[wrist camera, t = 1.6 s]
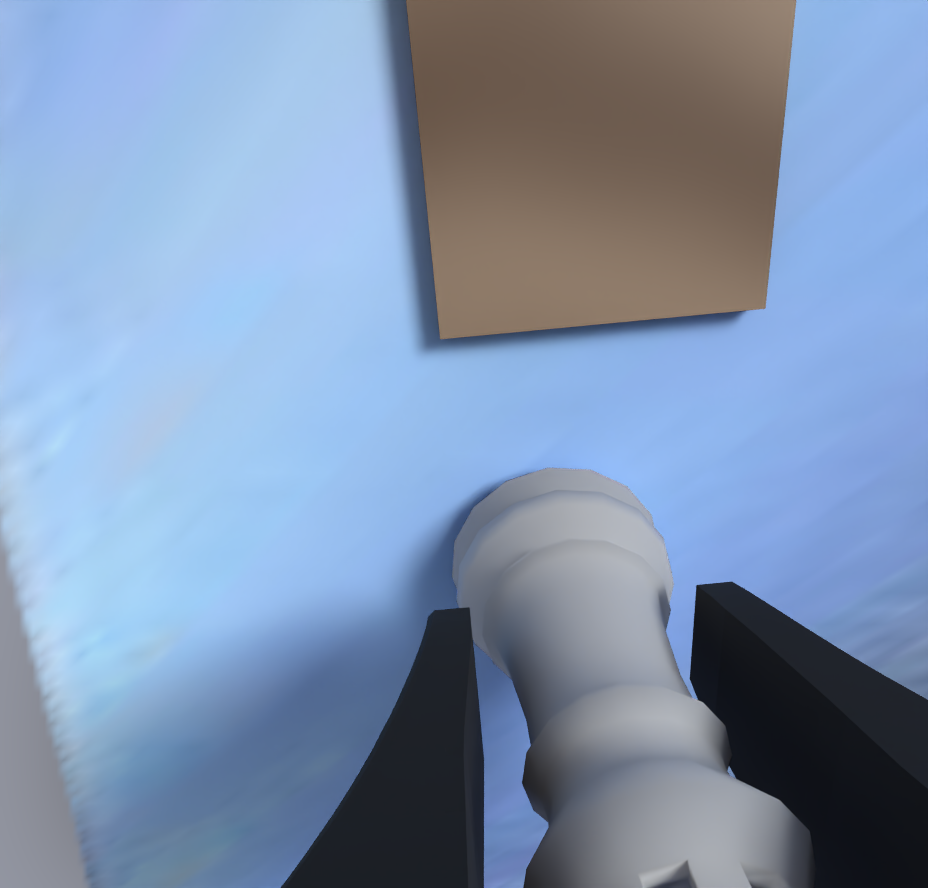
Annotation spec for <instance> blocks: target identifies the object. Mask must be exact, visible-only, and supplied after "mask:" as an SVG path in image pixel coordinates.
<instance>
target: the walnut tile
mask: <svg viewBox="0 0 928 888" xmlns="http://www.w3.org/2000/svg"><path fill="white" fill-rule="evenodd" d="M406 5H407V14H408V24H409V34H410V44H411V54H412V64H413V74H414V84H415V94H416V104H417V114H418V124H419V134H420V144H421V154H422V164H423V174H424V183H425V193H426V203H427V213H428V223H429V233H430V243H431V253H432V263H433V273H434V283H435V293H436V303H437V313H438V323H439V333H440V339H449V338H459V337H470V336H480V335H491V334H502V333H512V332H523V331H533V330H544V329H555V328H565V327H576V326H586V325H597V324H608V323H618V322H629V321H639V320H650V319H660V318H671V317H682V316H692V315H703V314H713V313H724V312H735V311H745V310H756V309H765V307H766V297H767V287H768V277H769V267H770V257H771V247H772V237H773V227H774V217H775V207H776V197H777V187H778V177H779V167H780V157H781V147H782V137H783V127H784V117H785V107H786V97H787V87H788V77H789V67H790V57H791V47H792V37H793V27H794V17H795V7H796V0H406Z"/></svg>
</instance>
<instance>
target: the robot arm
mask: <svg viewBox="0 0 928 888" xmlns="http://www.w3.org/2000/svg"><path fill="white" fill-rule="evenodd" d="M690 681H691V683H692V686H693V688H694V691H695V693H696V696H697V698H698V701H701V702H703V703H704V704H705V705H706V706H707V707H708V708H709V709H710V710H711V711H712V712H713V713H714V715H715V716H716V717H717V718H718V719H719V720H720V721H721V722H722V723H723V724H724V725H725V727H726V731H727V735H728V740H729V744H730V749H731V753H732V757H731V760H730V763H729V766H730V768H731V770H732V771H733V773H734V775H735V777H736V779H738V780H740V781H742V782H744V783H746V784H748V785H750V786H752V787H754V788H756V789H758V790H760V791H762V792H764V793H766V794H768V795H770V796H772V797H774V798H776V799H778V800H780V801H781V802H782V803H783V804H784V805H785V806H786V807H787V808H788V809H789V810H790V811H791V812H792V813H793V814H794V815H795V816H796V817H797V818H798V820H799V821H800V822H801V823H802V824H803V825H804V826H805V827H806V828H807V829H808V830H809V831H810V835H811V841H812V847H813V853H814V859H815V865H816V874H815V882H814V888H928V700H927V699H925V698H924V697H922V696H920V695H918V694H916V693H915V692H913V691H911V690H909V689H907V688H906V687H904V686H902V685H900V684H898V683H897V682H895V681H893V680H891V679H890V678H888V677H886V676H884V675H882V674H881V673H879V672H877V671H876V670H874V669H872V668H871V667H869V666H867V665H866V664H864V663H862V662H860V661H859V660H857V659H855V658H854V657H852V656H850V655H849V654H847V653H846V652H844V651H842V650H841V649H839V648H837V647H836V646H834V645H833V644H831V643H829V642H828V641H826V640H824V639H823V638H821V637H820V636H818V635H816V634H815V633H813V632H812V631H810V630H809V629H807V628H805V627H804V626H802V625H801V624H799V623H798V622H796V621H794V620H793V619H791V618H790V617H788V616H787V615H785V614H783V613H782V612H780V611H779V610H777V609H776V608H774V607H772V606H771V605H769V604H768V603H766V602H765V601H763V600H761V599H760V598H758V597H757V596H755V595H753V594H752V593H750V592H749V591H747V590H745V589H744V588H742V587H740V586H739V585H737V584H735V583H733V582H724V583H713V584H703V585H697V586H696V600H695V614H694V628H693V642H692V656H691V670H690ZM281 888H484V755H483V744H482V733H481V722H480V711H479V700H478V689H477V679H476V668H475V658H474V648H473V637H472V627H471V616H470V607H466V608H455V609H445V610H435V611H433V613H432V614H431V615H430V616H429V617H428V621H427V626H426V629H425V633H424V636H423V639H422V642H421V645H420V648H419V651H418V653H417V656H416V659H415V661H414V664H413V666H412V669H411V671H410V674H409V676H408V678H407V680H406V683H405V685H404V687H403V689H402V692H401V694H400V696H399V698H398V701H397V703H396V705H395V707H394V709H393V711H392V713H391V715H390V717H389V719H388V721H387V723H386V725H385V727H384V728H383V730H382V732H381V734H380V736H379V738H378V740H377V742H376V744H375V746H374V748H373V749H372V751H371V753H370V755H369V757H368V758H367V760H366V762H365V764H364V765H363V767H362V769H361V771H360V772H359V774H358V776H357V777H356V779H355V781H354V782H353V784H352V786H351V787H350V789H349V790H348V792H347V793H346V795H345V797H344V798H343V800H342V801H341V803H340V805H339V806H338V808H337V809H336V811H335V812H334V814H333V815H332V817H331V818H330V820H329V821H328V823H327V824H326V826H325V827H324V828H323V830H322V831H321V833H320V834H319V836H318V837H317V838H316V840H315V841H314V843H313V844H312V846H311V847H310V849H309V850H308V851H307V853H306V854H305V856H304V857H303V859H302V860H301V861H300V863H299V864H298V865H297V867H296V868H295V869H294V871H293V872H292V874H291V875H290V876H289V878H288V879H287V880H286V882H285V883H284V884H283V885H282V887H281Z"/></svg>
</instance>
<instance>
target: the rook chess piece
mask: <svg viewBox="0 0 928 888" xmlns="http://www.w3.org/2000/svg"><path fill="white" fill-rule="evenodd" d="M452 578H453V581H454V583H455V586H456V588H457V604H458V606H459V608H466V607H470V616H471V627H472V637H473V640H474V642H475V644H476V645H477V646H478V647H479V648H480V649H481V650H482V651H483V652H485V653H486V654H487V655H488V656H489V657H490V658H491V659H492V661H493V663H494V664H495V665H496V666H497V667H498V668H499V669H501V670H502V671H503V672H504V673H505V674H506V675H507V676H508V677H509V678H510V679H511V680H512V681H513V684H514V687H515V690H516V692H517V695H518V698H519V701H520V704H521V707H522V709H523V712H524V715H525V718H526V721H527V726H528V732H529V738H530V743H531V747H530V748H529V750H528V751H527V752H526V759H525V767H524V774H523V781H522V784H523V786H524V789H525V791H526V794H527V796H528V798H529V801H530V803H531V805H532V808H533V810H534V811H535V812H536V813H537V814H539V815H540V816H541V817H542V818H544V819H545V820H546V821H547V822H548V825H549V828H548V830H547V832H546V834H545V835H544V837H543V839H542V841H541V843H540V845H539V847H538V848H537V850H536V852H535V854H534V856H533V858H532V860H531V861H530V863H529V865H528V867H527V869H526V875H525V882H524V888H814V882H815V874H816V865H815V859H814V853H813V847H812V841H811V835H810V831H809V830H808V829H807V828H806V827H805V826H804V825H803V824H802V823H801V822H800V821H799V820H798V818H797V817H796V816H795V815H794V814H793V813H792V812H791V811H790V810H789V809H788V808H787V807H786V806H785V805H784V804H783V803H782V802H781V801H780V800H778V799H776V798H774V797H772V796H770V795H768V794H766V793H764V792H762V791H760V790H758V789H756V788H754V787H752V786H750V785H748V784H746V783H744V782H742V781H740V780H738V779H735V778H733V777H731V776H730V775H729V773H728V772H727V770H728V766H729V763H730V760H731V757H732V753H731V749H730V744H729V740H728V735H727V731H726V727H725V725H724V724H723V723H722V722H721V721H720V720H719V719H718V718H717V717H716V716H715V715H714V713H713V712H712V711H711V710H710V709H709V708H708V707H707V706H706V705H705V704H704V703H703V702H701V701H698V700H696V699H693V698H692V696H691V694H690V692H689V691H688V689H687V687H686V685H685V683H684V681H683V679H682V677H681V675H680V672H679V669H678V666H677V663H676V661H675V658H674V655H673V652H672V649H671V646H670V643H669V640H668V637H667V634H666V628H667V624H668V619H669V615H670V611H671V609H670V605H669V603H670V598H671V594H672V590H673V585H674V584H673V577H672V572H671V567H670V563H669V559H668V555H667V551H666V547H665V543H664V539H663V537H662V535H661V534H660V533H659V532H658V531H657V530H656V529H655V527H654V524H653V520H652V516H651V514H650V513H649V511H648V510H647V509H646V508H645V507H644V506H643V504H642V503H641V502H640V501H639V500H638V498H637V497H636V496H635V495H634V494H633V493H632V491H631V490H630V489H629V488H628V487H627V486H625V485H623V484H621V483H619V482H616V481H614V480H612V479H610V478H608V477H606V476H603V475H601V474H599V473H597V472H595V471H592V470H587V469H565V468H545V469H542V470H539V471H536V472H533V473H530V474H527V475H524V476H521V477H517V478H514V479H511V480H508V481H506V482H504V483H503V484H502V485H501V486H499V487H498V488H497V489H496V490H494V491H493V492H492V493H491V494H489V495H488V496H487V497H486V498H484V499H483V500H482V501H481V502H479V503H478V504H477V505H476V506H474V507H473V509H472V511H471V512H470V514H469V516H468V518H467V520H466V521H465V523H464V525H463V527H462V529H461V530H460V532H459V534H458V536H457V538H456V539H455V541H454V555H453V569H452Z"/></svg>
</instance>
